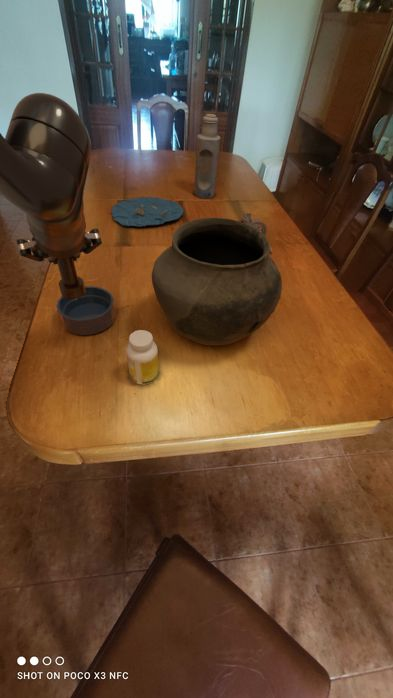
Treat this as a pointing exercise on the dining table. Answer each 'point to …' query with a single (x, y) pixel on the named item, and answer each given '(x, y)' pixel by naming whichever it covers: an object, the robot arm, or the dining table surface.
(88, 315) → the bowl
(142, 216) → the decorative plate
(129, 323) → the dining table surface
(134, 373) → the pill bottle
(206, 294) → the pot
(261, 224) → the spaceship
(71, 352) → the dining table surface
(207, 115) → the bottle
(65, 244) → the robot arm
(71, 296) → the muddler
